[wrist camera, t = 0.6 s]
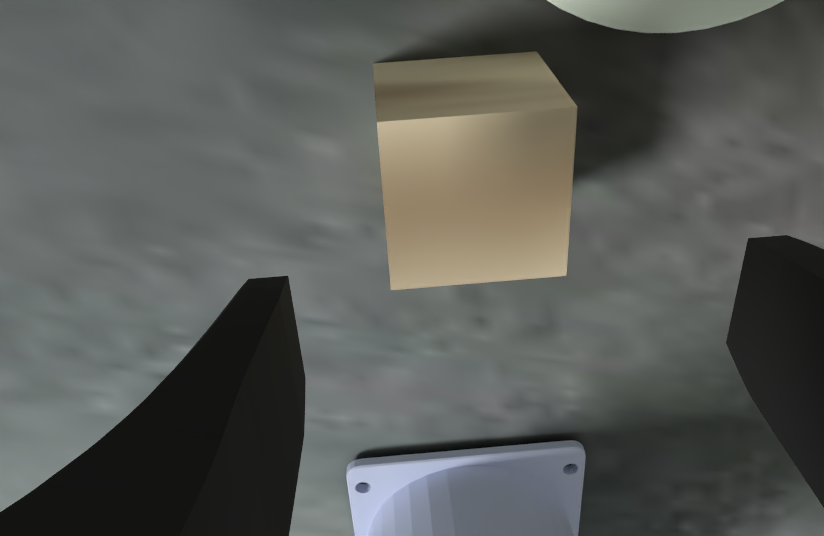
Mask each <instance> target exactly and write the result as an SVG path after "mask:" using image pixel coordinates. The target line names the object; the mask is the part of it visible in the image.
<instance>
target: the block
mask: <svg viewBox="0 0 824 536" xmlns="http://www.w3.org/2000/svg"><path fill="white" fill-rule="evenodd" d="M373 74H374V88H375V102H376V117H377V129H378V141H379V153H380V165H381V177H382V189H383V201H384V213H385V225H386V237H387V249H388V260H389V272H390V284H391V290H398V289H411V288H423V287H435V286H447V285H459V284H472V283H484V282H496V281H508V280H520V279H533V278H545V277H557V276H566V273H567V258H568V243H569V228H570V213H571V198H572V182H573V167H574V152H575V137H576V122H577V105H576V104H575V103H574V101H573V100H572V99H571V97H570V96H569V95H568V93H567V92H566V91H565V89H564V88H563V86H562V85H561V84H560V82H559V81H558V80H557V78H556V77H555V76H554V74H553V73H552V71H551V70H550V69H549V67H548V66H547V65H546V63H545V62H544V61H543V59H542V58H541V57H540V55H539V54H538V52H537V51H535V52H521V53H508V54H494V55H481V56H467V57H454V58H440V59H427V60H413V61H400V62H386V63H373Z"/></svg>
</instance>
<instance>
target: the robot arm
mask: <svg viewBox="0 0 824 536" xmlns="http://www.w3.org/2000/svg"><path fill="white" fill-rule="evenodd" d="M726 344H727V346H728V348H729V351H730V353H731V355H732V357H733V360H734V362H735V364H736V367H737V369H738V371H739V373H740V375H741V377H742V379H743V381H744V384H745V386H746V388H747V390H748V392H749V394H750V396H751V397H752V399H753V401H754V402H755V404H756V405H757V407H758V409H759V410H760V412H761V413H762V415H763V416H764V418H765V419H766V421H767V422H768V424H769V426H770V427H771V429H772V430H773V432H774V433H775V435H776V436H777V438H778V439H779V441H780V442H781V444H782V445H783V447H784V448H785V450H786V451H787V453H788V454H789V456H790V457H791V459H792V460H793V462H794V463H795V465H796V466H797V468H798V469H799V471H800V472H801V474H802V475H803V477H804V478H805V480H806V481H807V483H808V484H809V486H810V487H811V489H812V490H813V492H814V493H815V495H816V496H817V498H818V499H819V501H820V502H821V504H822V505H823V507H824V249H821V248H819V247H817V246H814V245H812V244H809V243H807V242H804V241H802V240H799V239H796V238H793V237H790V236H787V235H785V236H772V237H760V238H748V242H747V246H746V251H745V256H744V261H743V265H742V270H741V275H740V280H739V284H738V289H737V294H736V299H735V303H734V308H733V313H732V318H731V322H730V327H729V332H728V337H727V341H726ZM304 421H305V373H304V367H303V361H302V356H301V350H300V344H299V338H298V332H297V326H296V320H295V314H294V308H293V302H292V296H291V291H290V285H289V279H288V276H280V277H268V278H256V279H248V280H247V281H246V283H245V284H244V285H243V286H242V287H241V288H240V290H239V291H238V292H237V293H236V295H235V296H234V297H233V298H232V300H231V301H230V302H229V304H228V305H227V306H226V307H225V309H224V310H223V311H222V313H221V314H220V315H219V316H218V318H217V319H216V320H215V321H214V323H213V324H212V325H211V326H210V328H209V329H208V330H207V331H206V333H205V334H204V335H203V336H202V337H201V338H200V340H199V341H198V342H197V343H196V344H195V346H194V347H193V348H192V349H191V350H190V351H189V353H188V354H187V355H186V356H185V357H184V359H183V360H182V361H181V362H180V363H179V364H178V365H177V366H176V367H175V369H174V370H173V371H172V372H171V373H170V374H169V375H168V376H167V377H166V378H165V379H164V380H163V381H162V382H161V383H160V384H159V385H158V386H157V388H156V389H155V390H154V391H153V392H152V393H151V394H150V395H149V396H148V397H147V398H146V399H145V400H144V401H143V402H142V403H141V404H140V405H139V406H138V407H137V408H135V409H134V410H133V411H132V412H131V413H130V414H129V415H128V416H127V417H126V418H125V419H123V420H122V421H121V422H120V423H119V424H118V425H116V426H115V427H114V428H113V429H112V430H111V431H109V432H108V433H107V434H106V435H105V436H104V437H103V438H101V439H100V440H99V441H98V442H97V443H95V444H94V445H93V446H92V447H90V448H89V449H88V450H87V451H85V452H84V453H83V454H81V455H80V456H79V457H77V458H76V459H75V460H73V461H72V462H71V463H69V464H68V465H67V466H65V467H64V468H63V469H61V470H60V471H58V472H57V473H56V474H54V475H53V476H52V477H50V478H49V479H48V480H46V481H45V482H44V483H42V484H41V485H40V486H38V487H37V488H36V489H34V490H33V491H31V492H30V493H29V494H27V495H26V496H24V497H23V498H21V499H20V500H18V501H17V502H15V503H14V504H12V505H11V506H9V507H8V508H6V509H5V510H3V511H2V512H0V536H289V531H290V524H291V518H292V511H293V505H294V499H295V492H296V486H297V479H298V472H299V466H300V459H301V452H302V445H303V438H304ZM585 460H586V454H585V451H584V448H583V445H582V444H581V443H580V442H577V441H573V440H567V441H556V442H545V443H533V444H522V445H510V446H499V447H488V448H476V449H465V450H454V451H442V452H431V453H420V454H408V455H397V456H386V457H374V458H363V459H357V460H354V461H352V462H351V463H349V465H348V466H347V484H348V491H349V498H350V505H351V512H352V519H353V525H354V532H355V536H578V531H579V521H580V511H581V501H582V490H583V480H584V470H585ZM568 464H572V465H569V466H566V465H568ZM361 482H365V483H366V484H359V483H361Z"/></svg>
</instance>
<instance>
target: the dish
mask: <svg viewBox="0 0 824 536" xmlns="http://www.w3.org/2000/svg"><path fill="white" fill-rule="evenodd" d="M547 1H549V2H550V3H552V4H554V5H555V6H557V7H558V8H560V9H562V10H564V11H567V12H569V13H571V14H573V15H575V16H578V17H580V18H582V19H584V20H586V21H590V22H593V23H597V24H600V25H604V26H607V27H611V28H614V29H619V30H627V31H634V32H642V33H680V32H687V31H694V30H701V29H708V28H712V27H716V26H719V25H723V24H727V23H730V22H734V21H738V20H741V19H743V18H746V17H748V16H751V15H753V14H756V13H758V12H761V11H763V10H766V9H768V8H771V7H773V6H775V5H776V4H778V3H780V2H782V1H784V0H547Z"/></svg>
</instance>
